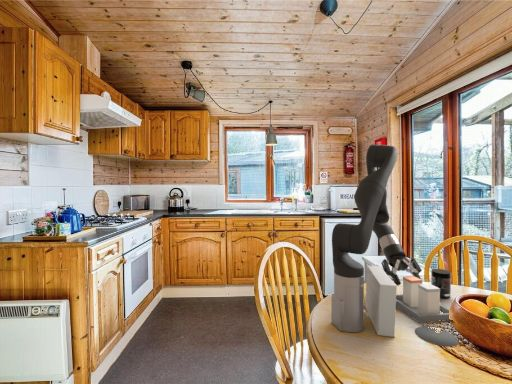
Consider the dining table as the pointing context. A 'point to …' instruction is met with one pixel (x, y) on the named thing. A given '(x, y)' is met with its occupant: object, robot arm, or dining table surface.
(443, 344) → the slate mat
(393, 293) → the skincare box
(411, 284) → the rust lid box
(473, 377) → the dining table surface
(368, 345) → the dining table surface
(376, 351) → the dining table surface
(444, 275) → the supplement container
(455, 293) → the dining table surface
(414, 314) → the parts tray
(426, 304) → the white lid box
